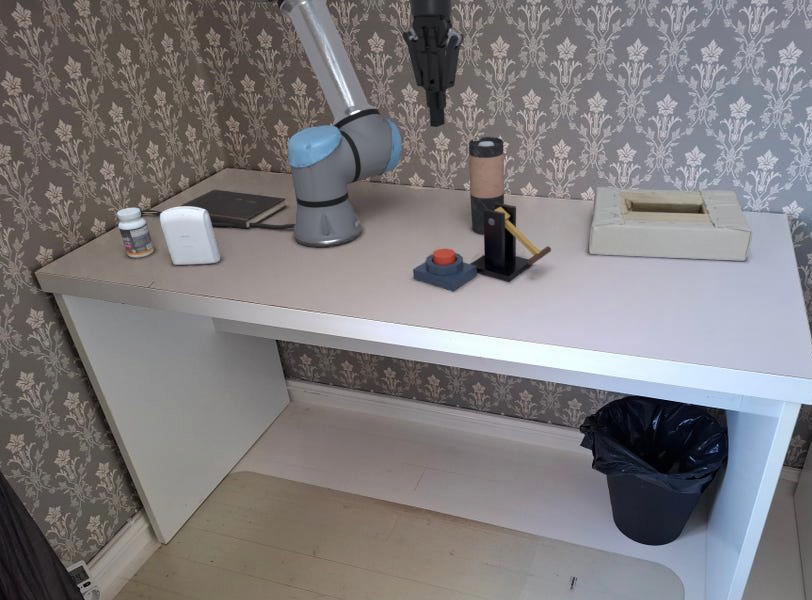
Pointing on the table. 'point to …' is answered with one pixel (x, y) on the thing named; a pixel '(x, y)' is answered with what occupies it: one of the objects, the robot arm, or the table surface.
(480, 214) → the travel mug
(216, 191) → the hardcover book
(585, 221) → the table surface
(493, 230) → the tap bracket
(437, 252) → the red button
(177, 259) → the photo printer
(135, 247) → the pill bottle
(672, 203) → the box
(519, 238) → the tap lever
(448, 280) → the button box
